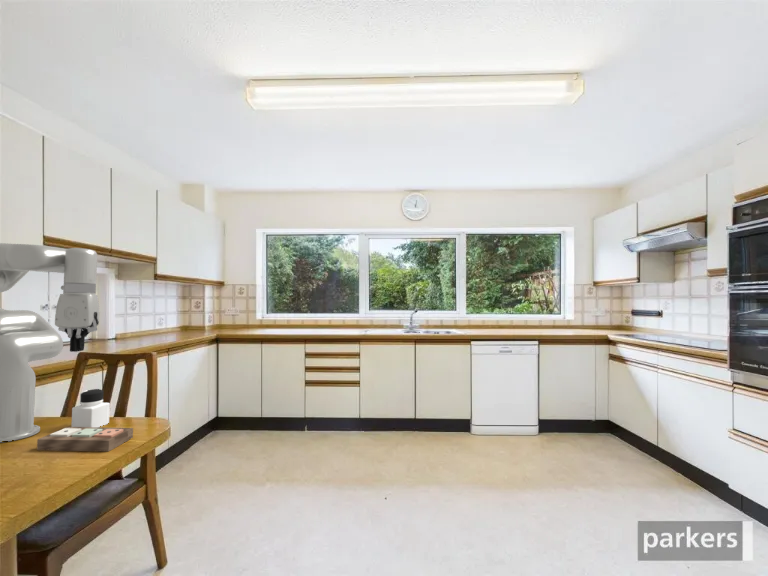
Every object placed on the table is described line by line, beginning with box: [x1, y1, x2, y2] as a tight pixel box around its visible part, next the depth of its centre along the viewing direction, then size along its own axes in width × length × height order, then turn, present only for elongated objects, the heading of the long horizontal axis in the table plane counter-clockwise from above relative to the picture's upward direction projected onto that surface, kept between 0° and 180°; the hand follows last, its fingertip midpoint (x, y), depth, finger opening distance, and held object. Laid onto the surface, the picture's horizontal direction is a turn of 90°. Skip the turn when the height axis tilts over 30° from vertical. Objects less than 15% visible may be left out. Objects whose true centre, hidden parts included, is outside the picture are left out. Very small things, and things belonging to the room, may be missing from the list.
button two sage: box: [72, 429, 103, 437], centre depth 108 cm, size 5×5×2 cm
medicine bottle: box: [71, 388, 111, 427], centre depth 122 cm, size 7×7×12 cm
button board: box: [36, 426, 134, 452], centre depth 108 cm, size 20×10×3 cm, turn 90°
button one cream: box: [49, 427, 82, 437], centre depth 108 cm, size 5×5×2 cm
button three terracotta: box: [94, 429, 124, 438], centre depth 108 cm, size 5×5×2 cm
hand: (76, 350), depth 110 cm, fingers closed
